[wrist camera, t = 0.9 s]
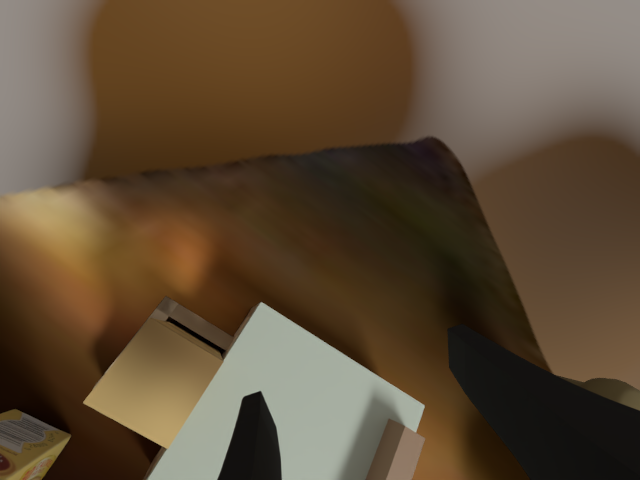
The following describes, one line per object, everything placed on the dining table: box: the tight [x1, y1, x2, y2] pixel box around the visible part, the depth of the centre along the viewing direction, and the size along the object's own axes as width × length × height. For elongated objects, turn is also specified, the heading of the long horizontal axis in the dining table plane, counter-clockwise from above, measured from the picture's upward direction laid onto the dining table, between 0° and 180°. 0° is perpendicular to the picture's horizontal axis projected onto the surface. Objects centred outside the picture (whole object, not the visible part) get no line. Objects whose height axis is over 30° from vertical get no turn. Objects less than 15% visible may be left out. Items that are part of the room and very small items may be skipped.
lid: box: [146, 302, 425, 480], centre depth 19 cm, size 12×14×3 cm
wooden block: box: [83, 318, 224, 449], centre depth 18 cm, size 4×4×10 cm
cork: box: [556, 375, 640, 411], centre depth 26 cm, size 6×6×11 cm
